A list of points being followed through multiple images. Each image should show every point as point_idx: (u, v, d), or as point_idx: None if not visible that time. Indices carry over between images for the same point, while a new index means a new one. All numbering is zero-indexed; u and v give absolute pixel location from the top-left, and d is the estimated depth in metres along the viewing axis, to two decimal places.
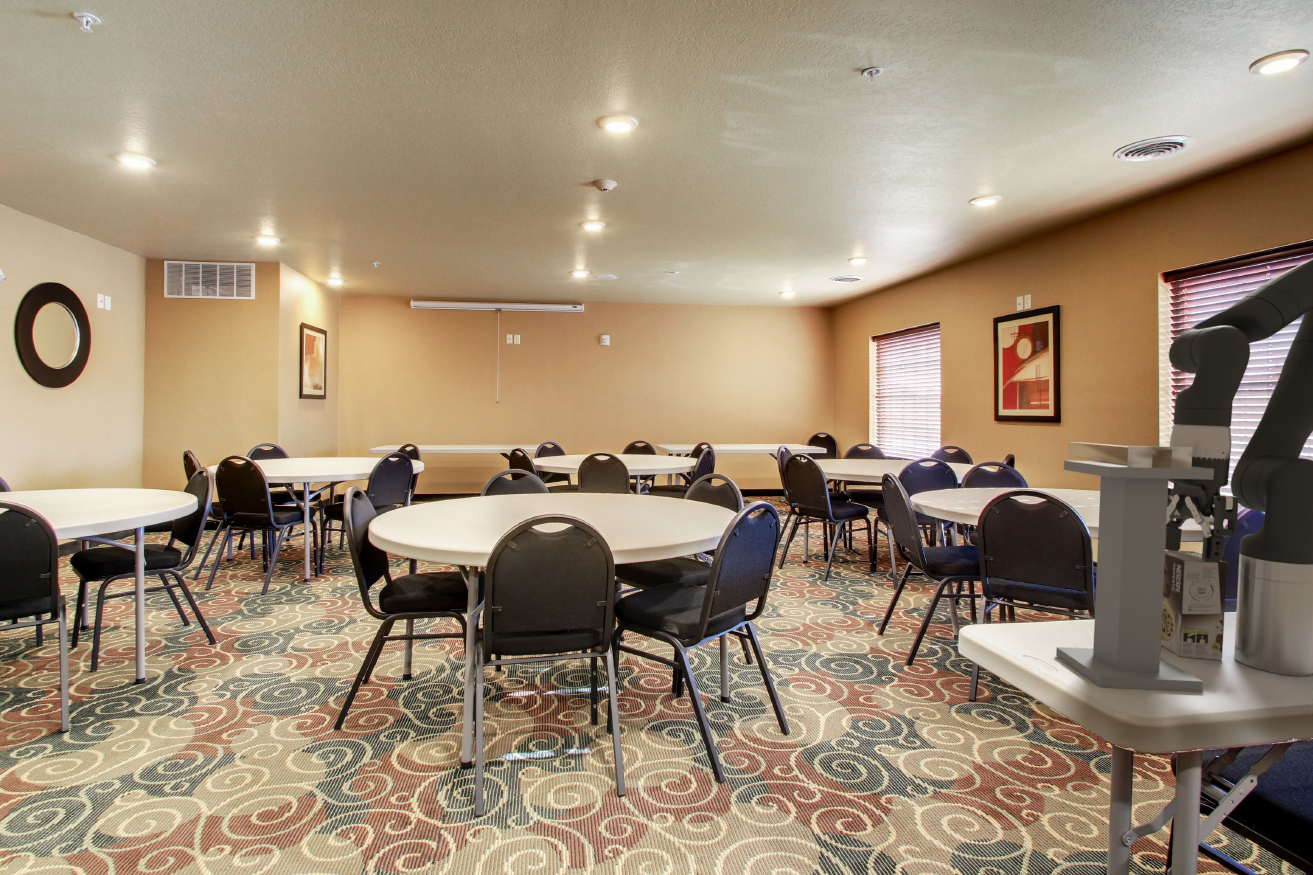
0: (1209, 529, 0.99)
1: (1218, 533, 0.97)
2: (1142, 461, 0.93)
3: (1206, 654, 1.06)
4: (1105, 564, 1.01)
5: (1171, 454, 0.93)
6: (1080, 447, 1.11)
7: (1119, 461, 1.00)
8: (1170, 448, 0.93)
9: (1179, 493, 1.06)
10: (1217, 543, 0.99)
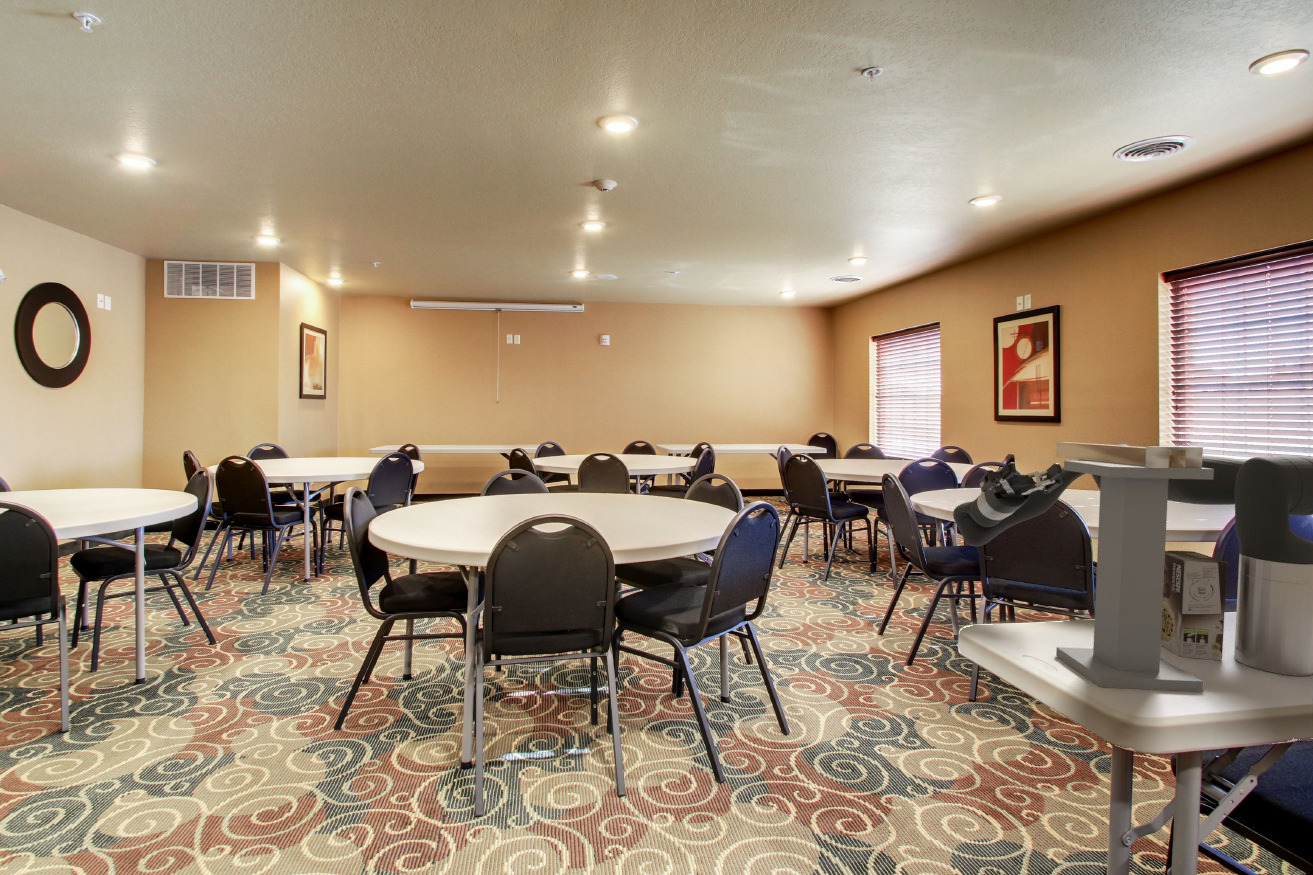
0: None
1: None
2: (1160, 461, 0.93)
3: (1206, 654, 1.06)
4: (1105, 564, 1.01)
5: (1185, 454, 0.93)
6: (1073, 447, 1.11)
7: (1125, 462, 1.00)
8: (1184, 448, 0.93)
9: None
10: None
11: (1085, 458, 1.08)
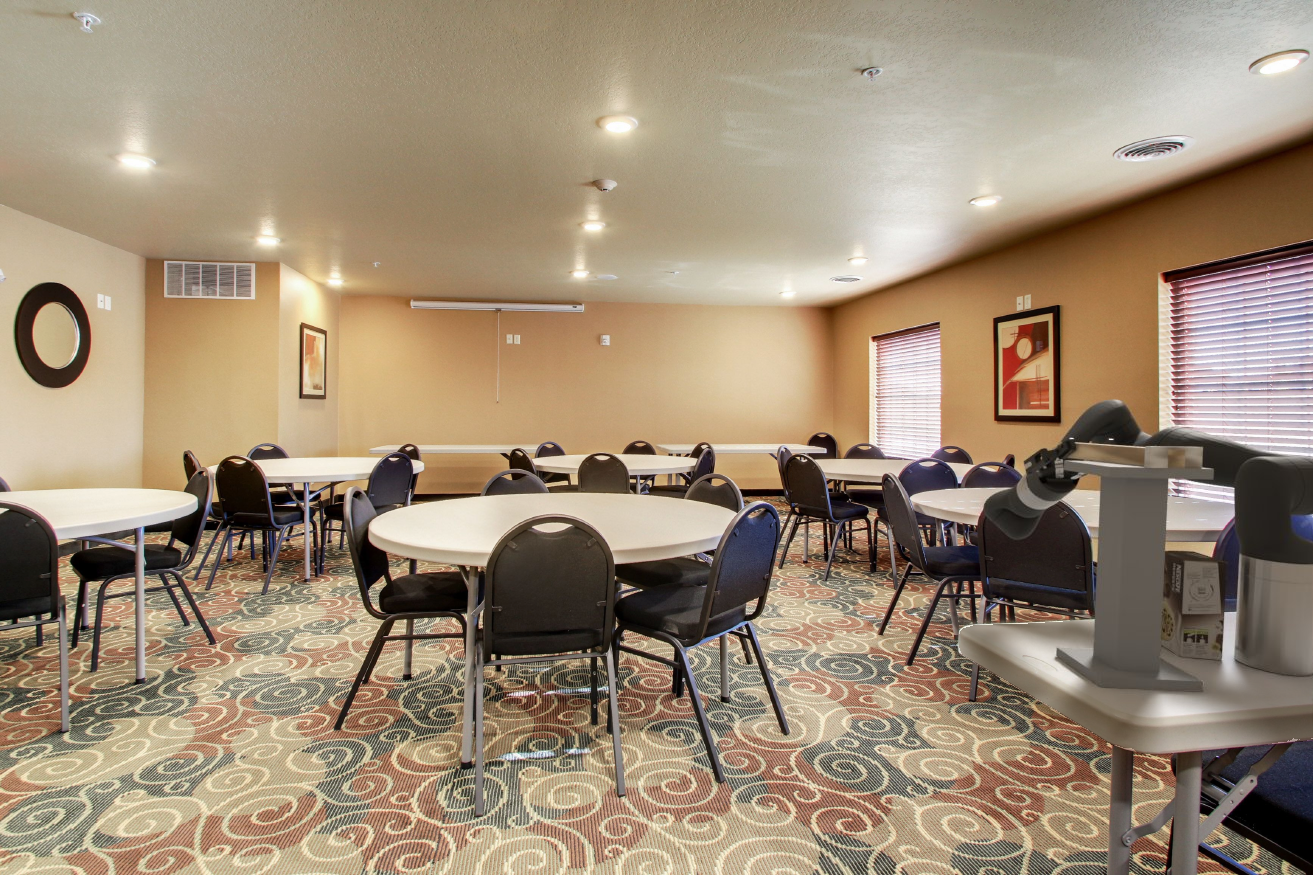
0: None
1: None
2: (1159, 461, 0.93)
3: (1206, 654, 1.06)
4: (1105, 564, 1.01)
5: (1184, 454, 0.93)
6: None
7: (1126, 462, 1.00)
8: (1184, 448, 0.93)
9: None
10: None
11: (1087, 458, 1.08)
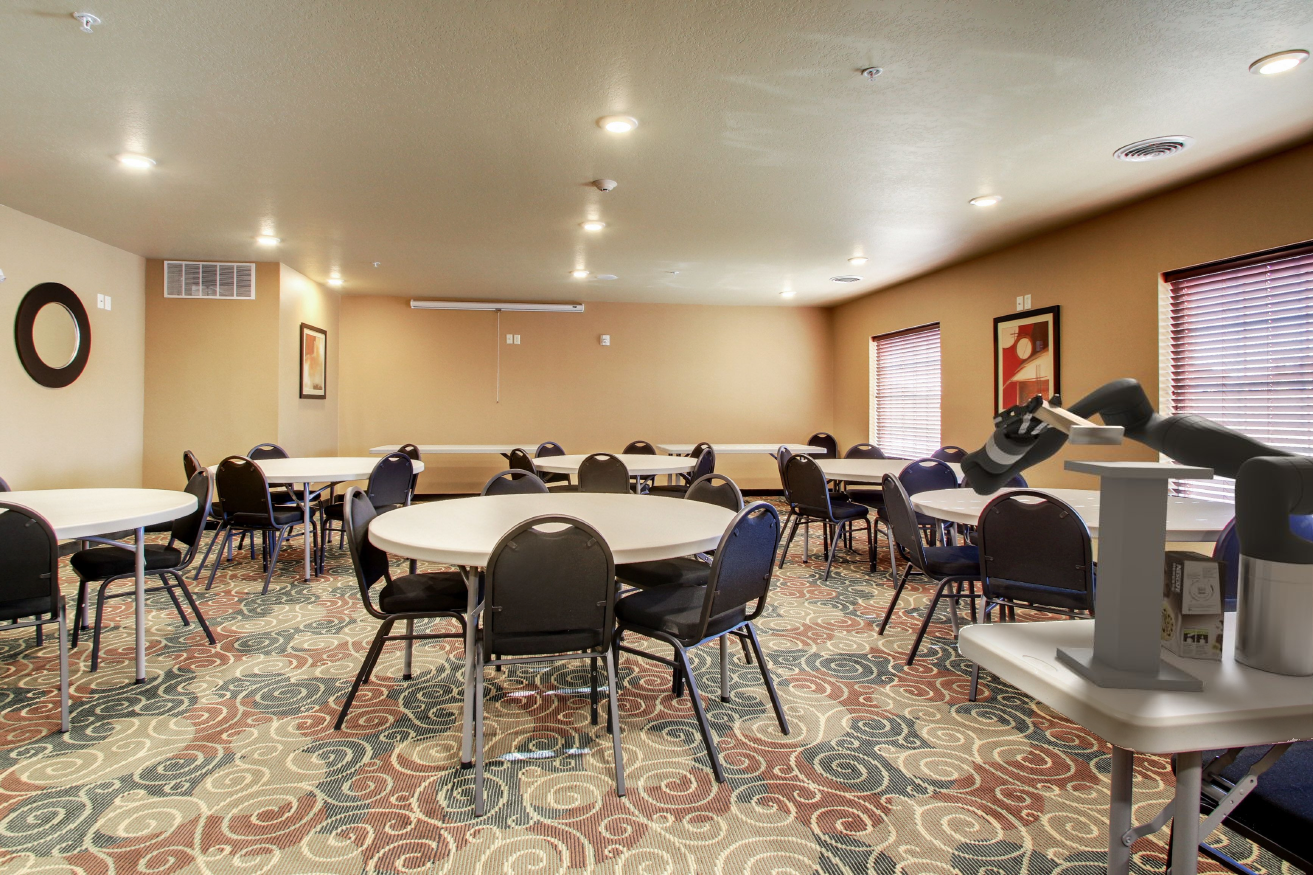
0: None
1: (1059, 406, 1.28)
2: (1080, 439, 1.09)
3: (1206, 654, 1.06)
4: (1105, 564, 1.01)
5: (1105, 433, 1.08)
6: None
7: (1065, 431, 1.16)
8: (1105, 428, 1.08)
9: None
10: None
11: (1043, 419, 1.23)
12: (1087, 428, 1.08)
